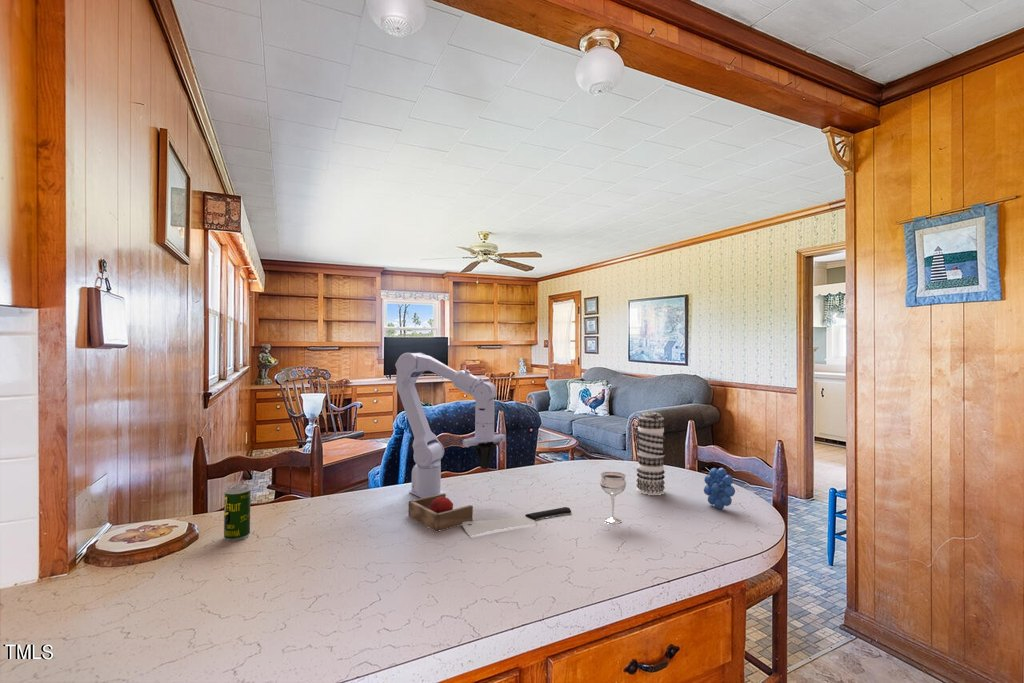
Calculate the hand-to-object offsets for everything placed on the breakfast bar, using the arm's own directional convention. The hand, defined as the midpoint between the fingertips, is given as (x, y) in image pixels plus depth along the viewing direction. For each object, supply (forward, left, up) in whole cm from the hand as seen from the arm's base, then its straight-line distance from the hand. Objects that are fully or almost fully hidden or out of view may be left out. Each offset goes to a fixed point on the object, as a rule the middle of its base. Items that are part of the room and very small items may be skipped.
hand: (484, 468), depth 141 cm
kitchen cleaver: (+21, -4, -10) cm, 24 cm away
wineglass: (+35, +16, -10) cm, 40 cm away
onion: (+6, -15, -6) cm, 17 cm away
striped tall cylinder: (+27, +46, -10) cm, 54 cm away
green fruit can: (-15, -62, -10) cm, 65 cm away
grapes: (+49, +48, -10) cm, 69 cm away
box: (+5, -19, -9) cm, 21 cm away
